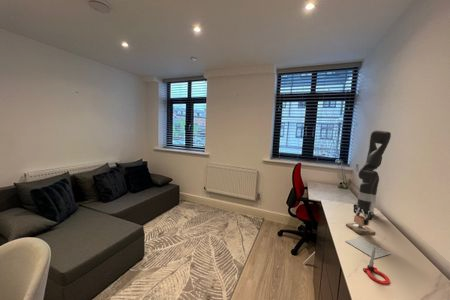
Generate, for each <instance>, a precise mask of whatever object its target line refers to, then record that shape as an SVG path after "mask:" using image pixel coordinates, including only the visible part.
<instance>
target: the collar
mask: <svg viewBox="0 0 450 300" xmlns="http://www.w3.org/2000/svg"><path fill="white" fill-rule="evenodd" d="M361 218H362V219H361ZM353 222H354V223H357V224H359V225H360V226H366V227H368V226H370V220H368V224H367V225H364V216H363V214H360V216H357V215H356V214H355V215H354V216H353Z"/></svg>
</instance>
